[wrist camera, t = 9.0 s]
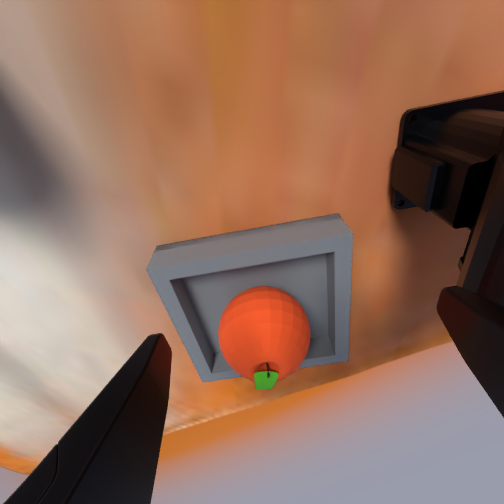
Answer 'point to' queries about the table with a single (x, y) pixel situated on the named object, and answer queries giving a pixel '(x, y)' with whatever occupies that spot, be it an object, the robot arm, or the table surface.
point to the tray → (258, 274)
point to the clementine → (264, 335)
